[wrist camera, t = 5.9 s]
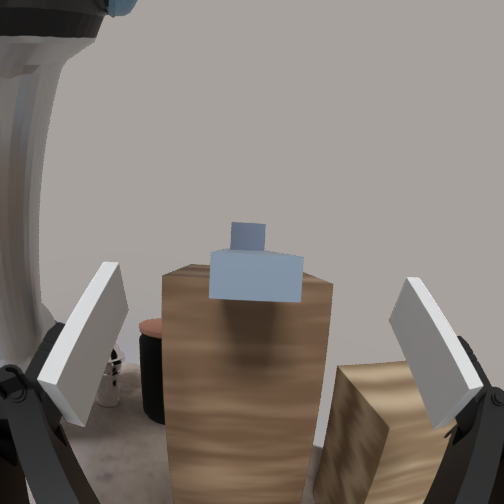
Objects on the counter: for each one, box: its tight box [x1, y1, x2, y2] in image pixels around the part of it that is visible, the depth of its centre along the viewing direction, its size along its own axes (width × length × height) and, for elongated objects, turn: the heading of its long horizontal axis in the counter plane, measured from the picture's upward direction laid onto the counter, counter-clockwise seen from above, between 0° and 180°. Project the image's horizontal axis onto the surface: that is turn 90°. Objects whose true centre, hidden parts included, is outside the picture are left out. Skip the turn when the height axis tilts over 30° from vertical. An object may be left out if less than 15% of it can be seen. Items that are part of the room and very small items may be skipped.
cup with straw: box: [96, 343, 125, 407], centre depth 53 cm, size 8×9×20 cm
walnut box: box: [162, 264, 333, 504], centre depth 29 cm, size 14×12×30 cm
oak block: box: [313, 361, 457, 504], centre depth 25 cm, size 14×9×20 cm, turn 3°
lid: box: [209, 222, 304, 302], centre depth 23 cm, size 20×4×4 cm, turn 3°
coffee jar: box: [139, 318, 165, 425], centre depth 53 cm, size 11×11×18 cm
